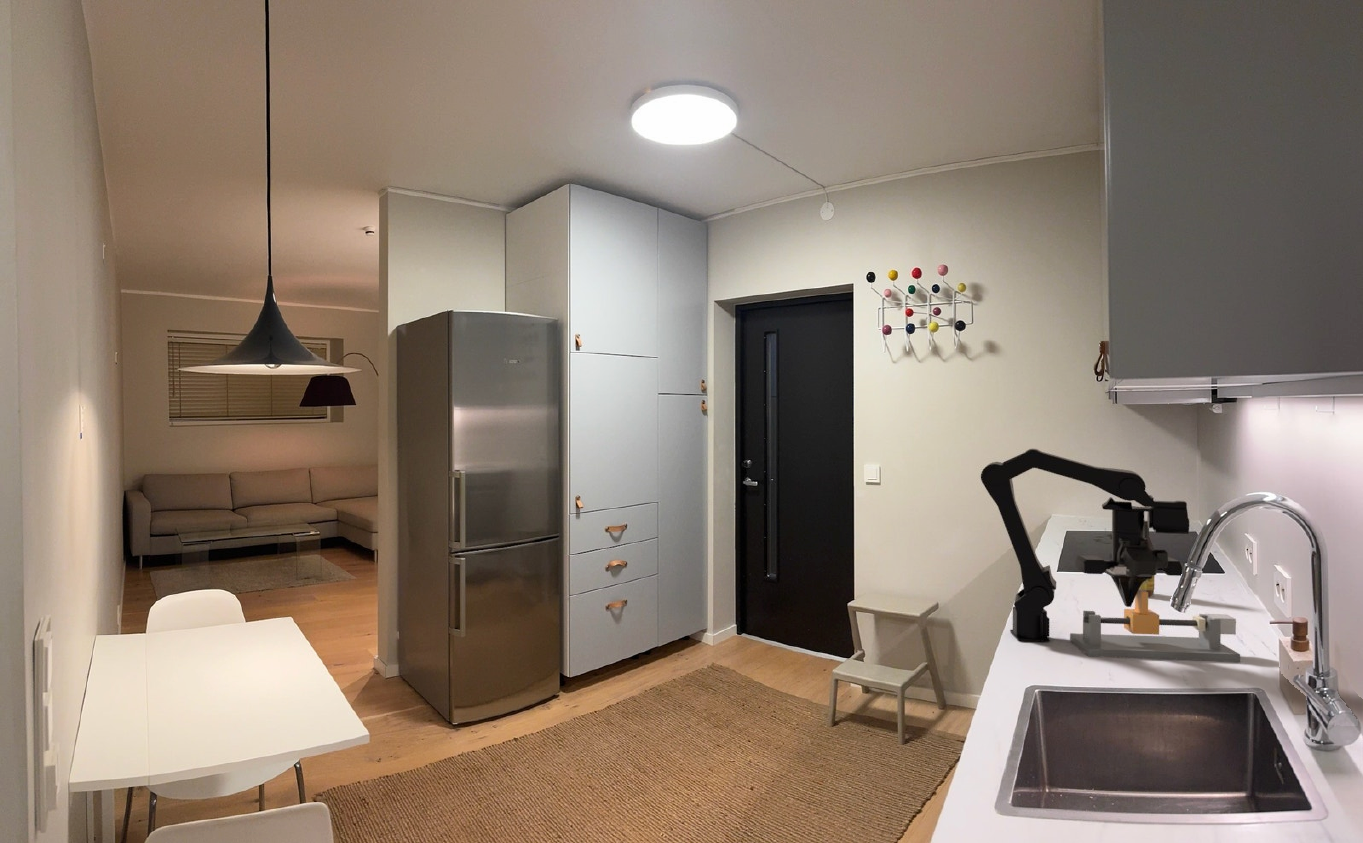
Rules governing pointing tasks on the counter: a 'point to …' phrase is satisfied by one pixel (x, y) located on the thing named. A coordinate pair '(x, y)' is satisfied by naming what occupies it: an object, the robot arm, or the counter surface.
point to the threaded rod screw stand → (1159, 639)
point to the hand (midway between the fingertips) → (1127, 606)
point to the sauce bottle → (1149, 583)
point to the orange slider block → (1142, 616)
